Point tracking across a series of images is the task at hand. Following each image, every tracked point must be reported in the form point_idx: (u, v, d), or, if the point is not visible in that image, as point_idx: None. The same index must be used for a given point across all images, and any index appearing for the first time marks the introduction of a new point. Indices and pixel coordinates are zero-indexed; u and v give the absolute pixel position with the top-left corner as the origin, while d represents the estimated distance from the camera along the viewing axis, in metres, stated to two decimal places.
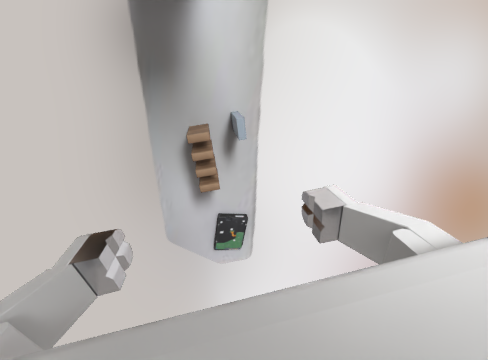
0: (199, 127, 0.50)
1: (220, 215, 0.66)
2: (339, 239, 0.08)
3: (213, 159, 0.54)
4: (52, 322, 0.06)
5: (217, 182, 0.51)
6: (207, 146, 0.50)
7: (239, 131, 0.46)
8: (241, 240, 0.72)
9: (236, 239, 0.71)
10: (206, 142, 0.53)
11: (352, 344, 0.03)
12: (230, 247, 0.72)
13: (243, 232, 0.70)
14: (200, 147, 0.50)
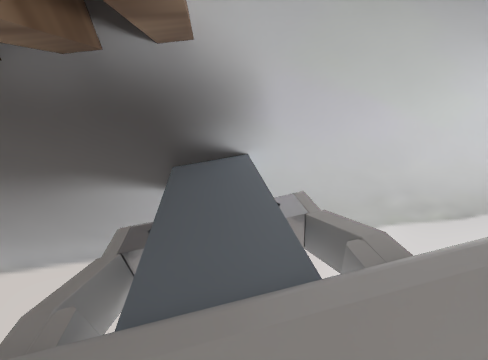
0: None
1: None
2: (305, 247, 0.08)
3: None
4: (104, 309, 0.06)
5: None
6: None
7: None
8: None
9: None
10: None
11: (352, 344, 0.03)
12: None
13: None
14: None
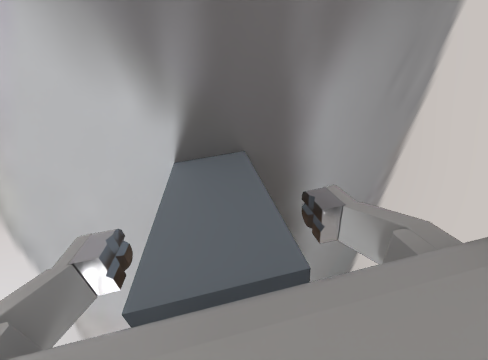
0: None
1: None
2: (339, 239, 0.08)
3: None
4: (52, 322, 0.06)
5: None
6: None
7: (206, 302, 0.05)
8: None
9: None
10: None
11: (352, 344, 0.03)
12: None
13: None
14: None
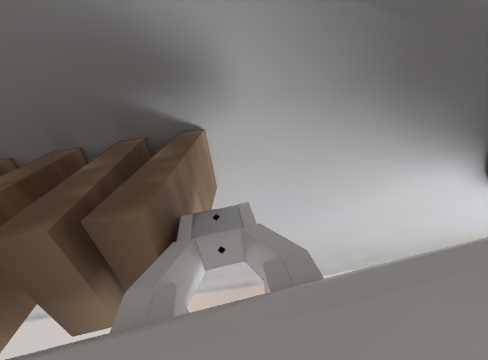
0: (204, 182, 0.13)
1: None
2: (245, 261, 0.08)
3: None
4: (184, 290, 0.06)
5: None
6: None
7: None
8: None
9: None
10: None
11: (352, 344, 0.03)
12: None
13: None
14: None
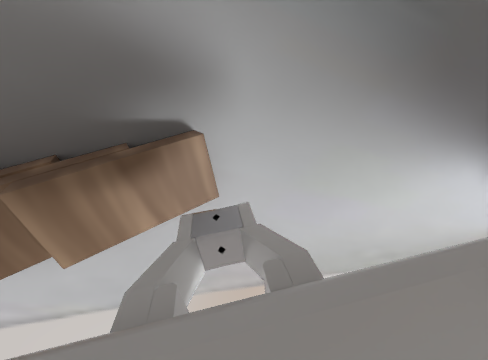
0: (169, 187, 0.13)
1: None
2: (245, 261, 0.08)
3: None
4: (184, 290, 0.06)
5: None
6: None
7: None
8: None
9: None
10: None
11: (352, 344, 0.03)
12: None
13: None
14: None
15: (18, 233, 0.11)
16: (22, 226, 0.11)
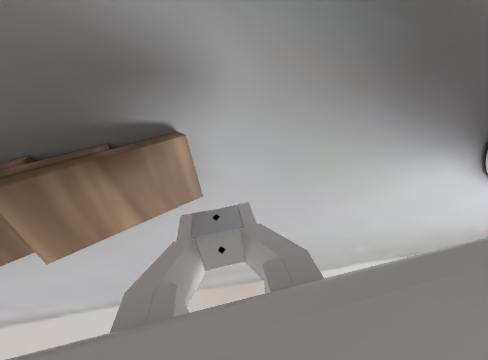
0: (152, 187, 0.13)
1: None
2: (245, 261, 0.08)
3: None
4: (184, 290, 0.06)
5: None
6: None
7: None
8: None
9: None
10: None
11: (352, 344, 0.03)
12: None
13: None
14: None
15: None
16: (0, 223, 0.11)
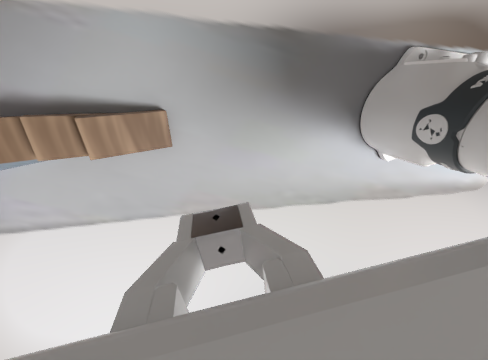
0: (145, 134, 0.27)
1: None
2: (245, 261, 0.08)
3: None
4: (184, 290, 0.06)
5: None
6: (81, 147, 0.25)
7: None
8: None
9: None
10: None
11: (352, 344, 0.03)
12: None
13: None
14: (75, 133, 0.24)
15: (66, 139, 0.24)
16: (69, 137, 0.24)
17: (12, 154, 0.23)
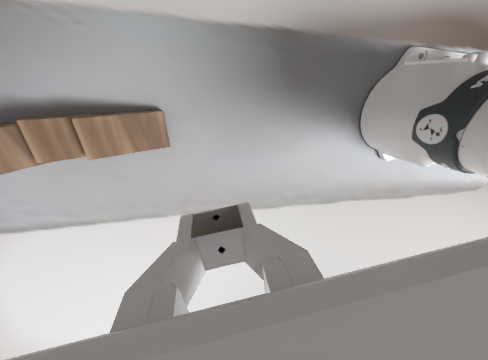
0: (143, 134, 0.27)
1: None
2: (245, 261, 0.08)
3: None
4: (184, 290, 0.06)
5: None
6: (79, 148, 0.25)
7: None
8: None
9: None
10: None
11: (352, 344, 0.03)
12: None
13: None
14: (72, 135, 0.24)
15: (63, 141, 0.24)
16: (66, 139, 0.24)
17: (1, 166, 0.23)
